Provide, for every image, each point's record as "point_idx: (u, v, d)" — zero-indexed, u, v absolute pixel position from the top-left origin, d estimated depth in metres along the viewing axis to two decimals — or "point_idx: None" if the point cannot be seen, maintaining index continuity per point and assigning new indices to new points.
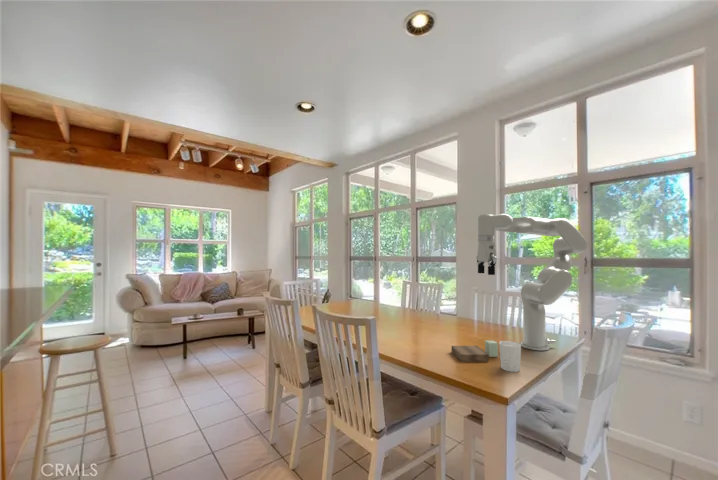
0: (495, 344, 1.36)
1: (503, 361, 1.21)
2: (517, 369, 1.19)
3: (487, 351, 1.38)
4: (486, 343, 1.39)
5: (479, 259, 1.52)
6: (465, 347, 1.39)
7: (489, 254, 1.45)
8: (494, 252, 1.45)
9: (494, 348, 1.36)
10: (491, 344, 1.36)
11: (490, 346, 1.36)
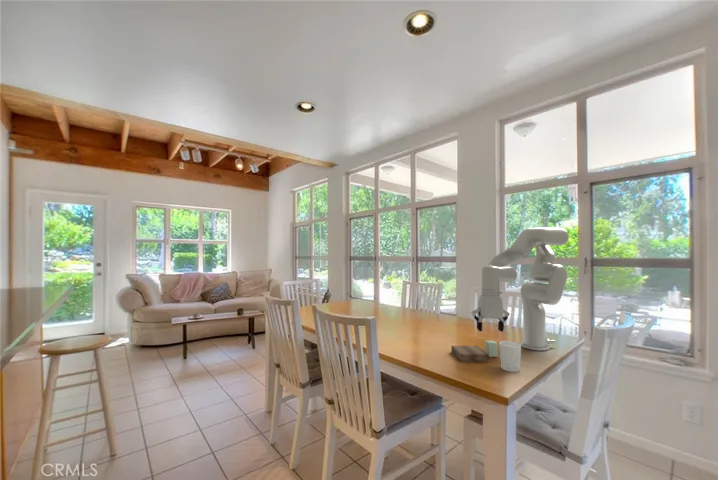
0: (495, 344, 1.36)
1: (503, 361, 1.21)
2: (517, 369, 1.19)
3: (487, 351, 1.38)
4: (486, 343, 1.39)
5: (486, 316, 1.36)
6: (465, 347, 1.39)
7: None
8: None
9: (494, 348, 1.36)
10: (491, 344, 1.36)
11: (490, 346, 1.36)
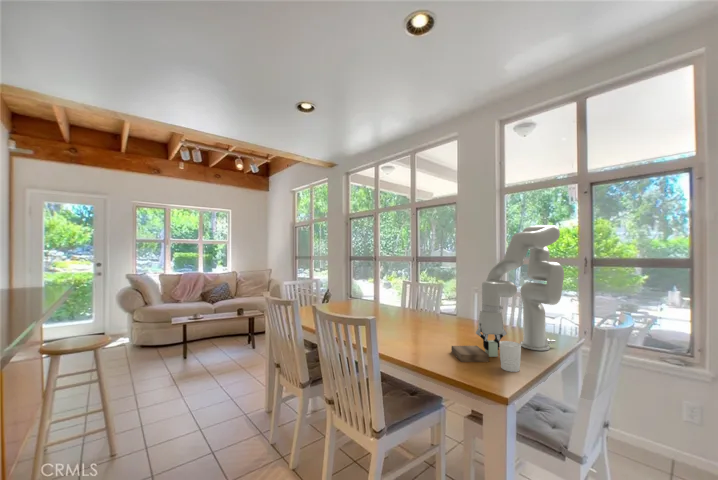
0: (495, 344, 1.36)
1: (503, 361, 1.21)
2: (517, 369, 1.19)
3: (487, 351, 1.38)
4: None
5: (487, 332, 1.36)
6: (465, 347, 1.39)
7: None
8: None
9: (494, 347, 1.36)
10: (491, 344, 1.36)
11: (490, 346, 1.36)
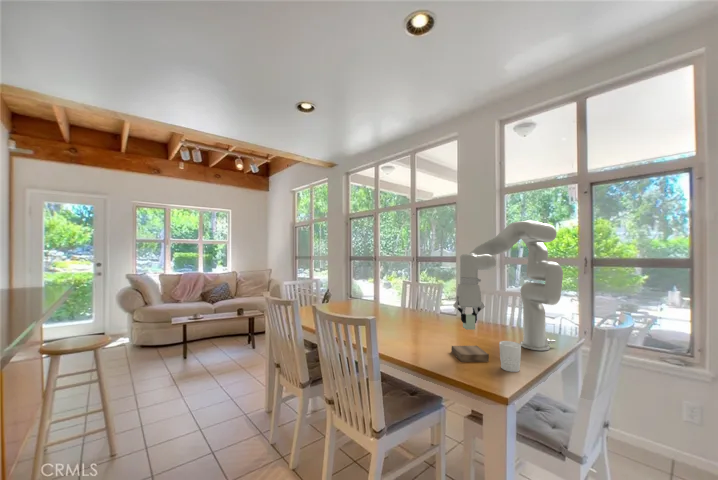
0: (472, 317, 1.34)
1: (503, 361, 1.21)
2: (517, 369, 1.19)
3: (464, 324, 1.36)
4: None
5: (465, 304, 1.34)
6: (465, 347, 1.39)
7: None
8: None
9: (471, 320, 1.34)
10: (468, 317, 1.34)
11: (467, 319, 1.34)
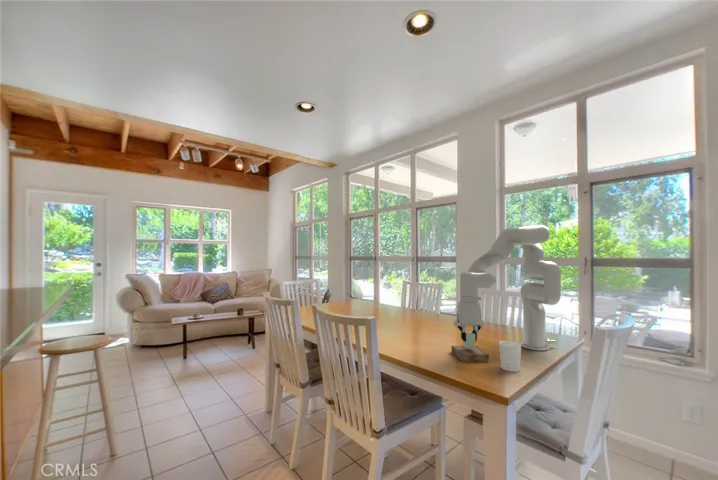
0: (472, 335, 1.34)
1: (503, 361, 1.21)
2: (517, 369, 1.19)
3: (465, 342, 1.35)
4: None
5: (465, 323, 1.34)
6: (465, 347, 1.39)
7: None
8: None
9: (472, 339, 1.34)
10: (468, 335, 1.34)
11: (468, 338, 1.34)
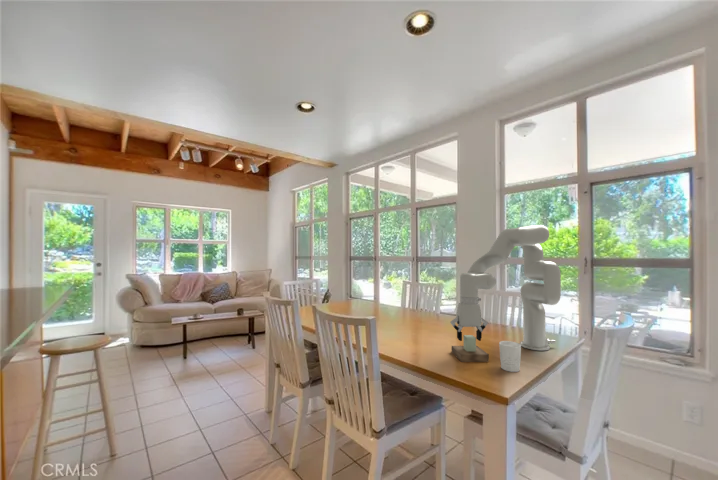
0: (473, 339, 1.34)
1: (503, 361, 1.21)
2: (517, 369, 1.19)
3: (465, 346, 1.35)
4: (464, 338, 1.36)
5: (465, 324, 1.34)
6: None
7: None
8: None
9: (472, 342, 1.34)
10: (469, 339, 1.34)
11: (468, 341, 1.34)
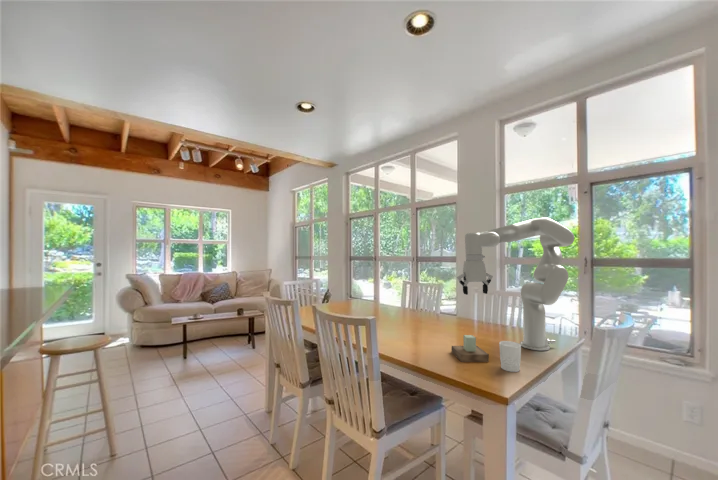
0: (473, 339, 1.34)
1: (503, 361, 1.21)
2: (517, 369, 1.19)
3: (465, 346, 1.35)
4: (464, 338, 1.36)
5: (471, 279, 1.44)
6: None
7: None
8: None
9: (472, 342, 1.34)
10: (469, 339, 1.34)
11: (468, 341, 1.34)
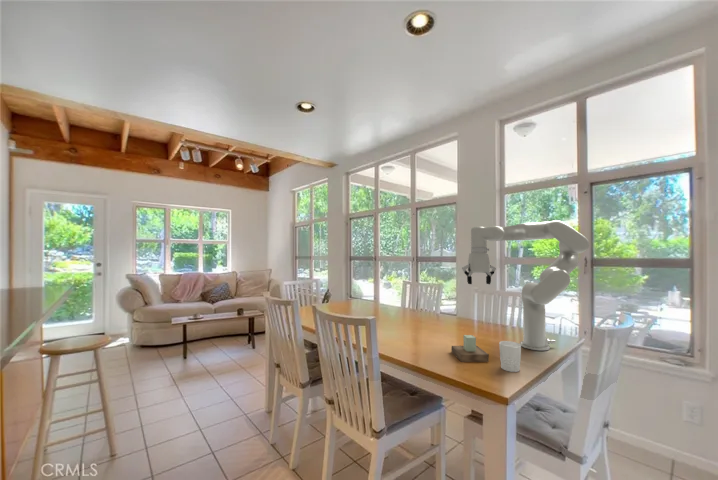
0: (473, 339, 1.34)
1: (503, 361, 1.21)
2: (517, 369, 1.19)
3: (465, 346, 1.35)
4: (464, 338, 1.36)
5: (475, 270, 1.54)
6: None
7: None
8: None
9: (472, 342, 1.34)
10: (469, 339, 1.34)
11: (468, 341, 1.34)
